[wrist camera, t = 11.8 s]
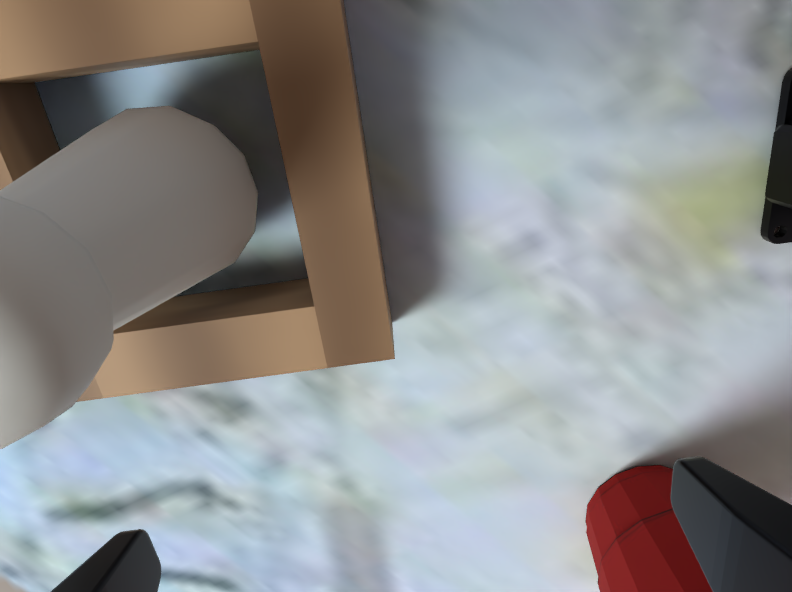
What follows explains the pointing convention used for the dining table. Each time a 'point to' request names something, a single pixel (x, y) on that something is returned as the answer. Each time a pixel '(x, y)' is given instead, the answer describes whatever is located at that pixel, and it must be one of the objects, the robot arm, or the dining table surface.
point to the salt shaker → (109, 248)
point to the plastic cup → (641, 536)
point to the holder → (304, 164)
